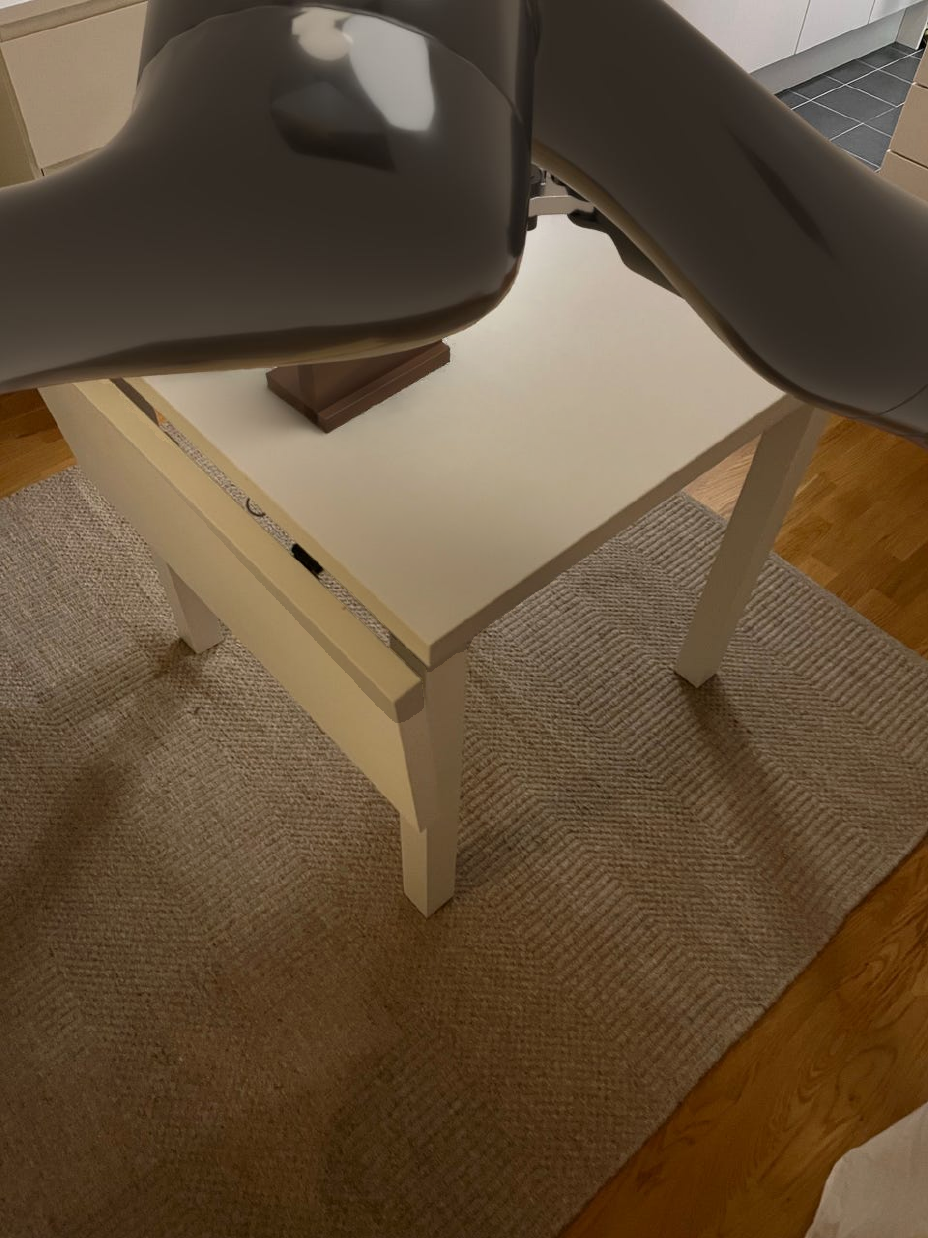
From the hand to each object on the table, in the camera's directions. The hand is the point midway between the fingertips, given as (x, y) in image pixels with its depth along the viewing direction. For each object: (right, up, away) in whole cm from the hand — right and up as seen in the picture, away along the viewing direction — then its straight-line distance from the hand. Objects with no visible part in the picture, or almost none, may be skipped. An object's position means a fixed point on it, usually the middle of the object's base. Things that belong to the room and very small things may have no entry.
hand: (479, 102), depth 52 cm
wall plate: (-10, -7, +31) cm, 34 cm away
